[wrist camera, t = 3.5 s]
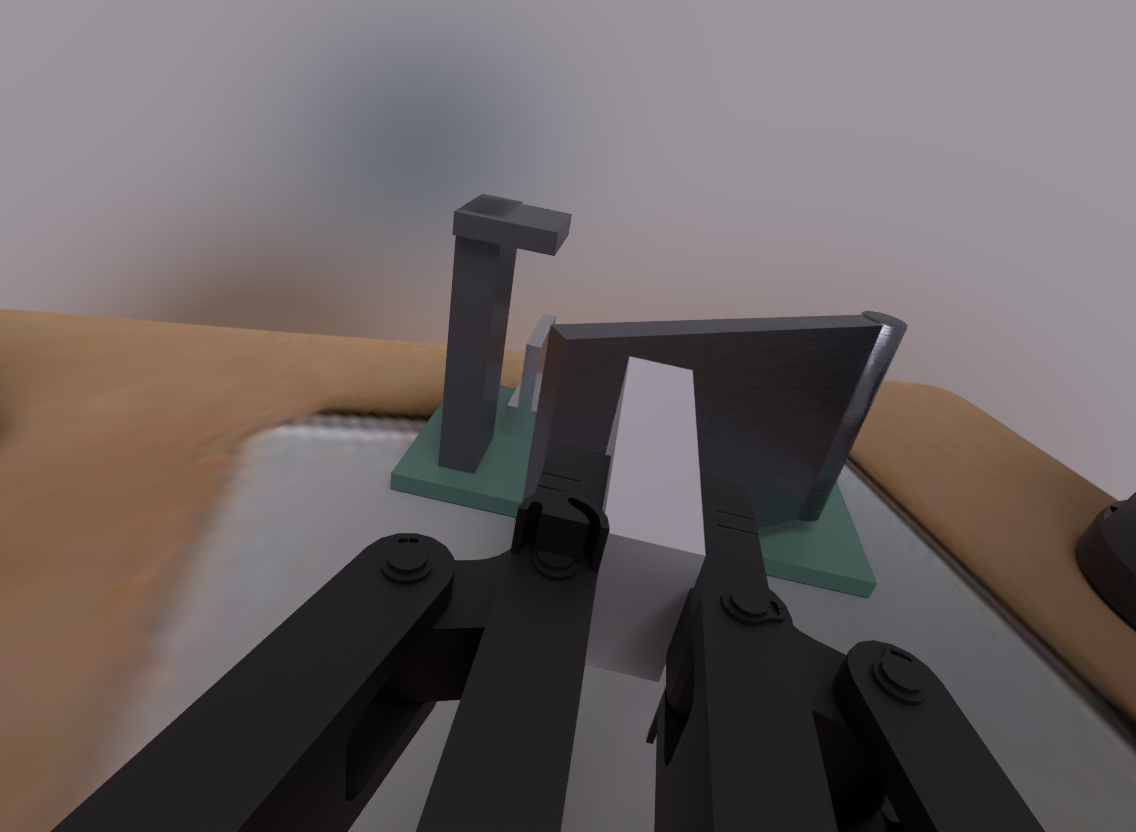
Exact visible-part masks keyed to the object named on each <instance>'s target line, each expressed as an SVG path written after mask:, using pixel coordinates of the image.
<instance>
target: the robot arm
mask: <svg viewBox="0 0 1136 832" xmlns="http://www.w3.org/2000/svg"><path fill="white" fill-rule="evenodd" d="M1077 556H1078V560H1079V563H1080V565H1081V567H1082V569H1083V571H1084V572H1085V574H1086V576H1087V577H1088V579H1089V580H1090V582H1091V583H1092V584H1093V585H1094V587H1095V588H1096V589H1097V590H1098V591H1099V593H1100V594H1101V595H1102V596H1103V597H1104V598H1105V599H1106V600H1107V601H1108V602H1109V603H1110V604H1111V605H1112V606H1113V607H1114V608H1115V609H1116V610H1117V611H1118V612H1119V613H1120V614H1121V615H1122V616H1123V617H1124V618H1125V619H1127V620H1128V621H1129V622H1130V623H1131V624H1132V625H1134V626H1135V627H1136V493H1134V494H1133V495H1132V496H1131V497H1130V498H1129V499H1128V500H1124V501H1119V502H1116V503H1113V504H1112V505H1110V506H1108V507H1107V508H1105V509H1104V510H1103V511H1102V512H1101V513H1099V514H1098V515H1097V517H1096V518H1095V519H1094V521H1093V522H1092V523H1091V525H1090V526H1089V527H1088V529H1087V530H1086V532H1085V533H1084V534H1083V536H1082V537H1081V538H1080V540H1079V541H1078V544H1077ZM585 664H587V665H591V666H595V667H599V668H603V669H607V670H611V671H615V672H619V673H624V674H628V675H632V676H636V677H640V678H644V679H648V680H652V681H656V682H659V680H660V677H661V674H662V672H663V669H664V666H665V664H666V687H665V690H664V692H663V695H662V698H661V700H660V703H659V706H658V708H657V711H656V713H655V716H654V719H653V721H652V724H651V726H650V729H649V733H648V736H647V740H646V742H647V743H651V744H653V742H654V740H655V737H656V734H657V751H656V789H655V827H654V832H1045V831H1044V829H1043V828H1042V827H1041V825H1040V824H1039V822H1038V821H1037V819H1036V818H1035V816H1034V815H1033V814H1032V812H1031V811H1030V809H1029V808H1028V806H1027V805H1026V803H1025V802H1024V800H1023V799H1022V798H1021V796H1020V795H1019V793H1018V792H1017V790H1016V789H1015V787H1014V786H1013V785H1012V783H1011V782H1010V780H1009V779H1008V777H1007V776H1006V774H1005V773H1004V772H1003V770H1002V769H1001V767H1000V766H999V764H998V763H997V761H996V760H995V759H994V757H993V756H992V754H991V753H990V751H989V750H988V748H987V747H986V746H985V744H984V743H983V741H982V740H981V738H980V737H979V735H978V734H977V732H976V731H975V730H974V728H973V727H972V725H971V724H970V722H969V721H968V719H967V718H966V717H965V715H964V714H963V712H962V711H961V709H960V708H959V706H958V705H957V704H956V702H955V701H954V699H953V698H952V696H951V695H950V693H949V692H948V691H947V689H946V688H945V686H944V685H943V683H942V682H941V681H940V680H939V679H938V677H937V676H936V675H935V674H934V673H933V672H932V671H931V670H930V668H929V667H928V666H927V665H925V664H924V663H923V662H921V661H920V660H919V659H917V658H916V657H914V656H913V655H912V654H910V653H909V652H907V651H904V650H902V649H900V648H898V647H896V646H894V645H892V644H888V643H883V642H878V641H874V640H872V641H865V642H859V643H857V644H856V645H855V646H854V647H853V648H851V649H850V650H849V652H848V654H847V655H845V654H843V653H841V652H839V651H837V650H835V649H833V648H831V647H829V646H826V645H824V644H822V643H820V642H818V641H816V640H814V639H812V638H811V637H809V636H807V635H806V634H804V633H802V632H801V631H799V630H798V629H797V628H795V627H794V626H793V622H792V618H791V616H790V614H789V611H788V609H787V607H786V605H785V604H784V603H783V602H782V601H781V599H780V598H779V597H778V596H777V595H776V594H775V593H774V592H773V591H771V590H770V589H769V587H768V582H767V577H766V572H765V566H764V561H763V556H762V551H761V545H760V540H759V538H758V530H757V524H756V523H755V514H754V508H753V503H752V501H751V499H750V498H749V497H748V495H747V494H746V493H745V491H744V490H743V489H742V487H741V486H740V485H739V483H734V482H730V481H726V480H721V479H717V478H713V477H708V476H704V475H700V470H699V456H698V441H697V427H696V413H695V399H694V384H693V370H689V369H684V368H680V367H675V366H671V365H666V364H662V363H657V362H653V361H648V360H644V359H639V358H635V357H630V356H629V360H628V364H627V368H626V372H625V376H624V381H623V385H622V389H621V393H620V397H619V401H618V405H617V409H616V413H615V417H614V421H613V426H612V430H611V434H610V438H609V442H608V446H607V450H606V454H605V455H604V454H600V453H596V452H591V451H587V450H583V449H578V448H574V447H570V446H565V445H561V446H560V447H558V448H557V449H556V450H554V451H553V452H552V453H550V454H549V455H548V456H547V458H546V461H545V464H544V467H543V470H542V473H541V476H540V479H539V482H538V485H537V488H536V491H535V494H533V495H531V496H529V497H527V498H525V499H524V501H523V502H522V503H521V505H520V506H519V507H518V512H517V518H516V524H515V529H514V535H513V541H512V547H511V549H510V550H508V551H506V552H505V553H503V554H501V555H499V556H496V557H492V558H489V559H482V560H454V557H453V556H452V554H451V553H450V551H449V550H448V548H447V547H446V546H445V545H443V544H442V543H440V542H439V541H437V540H436V539H434V538H432V537H428V536H424V535H420V534H417V533H398V534H395V535H391V536H387V537H383V538H380V539H379V540H377V541H376V542H374V543H372V544H371V545H369V546H368V547H366V548H365V549H364V550H363V551H362V552H361V553H360V554H359V555H357V556H356V557H355V558H354V559H353V560H352V561H351V562H350V563H349V564H347V565H346V566H345V567H344V568H343V569H342V570H341V571H340V572H339V573H337V574H336V575H335V576H334V577H333V578H332V579H331V580H330V581H329V582H327V583H326V584H325V585H324V586H323V587H322V588H321V589H320V590H319V591H317V592H316V593H315V594H314V595H313V596H312V597H311V598H310V599H309V600H307V601H306V602H305V603H304V604H303V605H302V606H301V607H300V608H299V609H297V610H296V611H295V612H294V613H293V614H292V615H291V616H290V617H288V618H287V619H286V620H285V621H284V622H283V623H282V624H281V625H280V626H278V627H277V628H276V629H275V630H274V631H273V632H272V633H271V634H270V635H268V636H267V637H266V638H265V639H264V640H263V641H262V642H261V643H260V644H258V645H257V646H256V647H255V648H254V649H253V650H252V651H251V652H250V653H248V654H247V655H246V656H245V657H244V658H243V659H242V660H241V661H240V662H238V663H237V664H236V665H235V666H234V667H233V668H232V669H231V670H230V671H228V672H227V673H226V674H225V675H224V676H223V677H222V678H221V679H220V680H218V681H217V682H216V683H215V684H214V685H213V686H212V687H211V688H210V689H208V690H207V691H206V692H205V693H204V694H203V695H202V696H201V697H200V698H198V699H197V700H196V701H195V702H194V703H193V704H192V705H191V706H190V707H188V708H187V709H186V710H185V711H184V712H183V713H182V714H181V715H180V716H178V717H177V718H176V719H175V720H174V721H173V722H172V723H171V724H170V725H168V726H167V727H166V728H165V729H164V730H163V731H162V732H161V733H160V734H158V735H157V736H156V737H155V738H154V739H153V740H152V741H151V742H150V743H148V744H147V745H146V746H145V747H144V748H143V749H142V750H141V751H139V752H138V753H137V754H136V755H135V756H134V757H133V758H132V759H131V760H129V761H128V762H127V763H126V764H125V765H124V766H123V767H122V768H121V769H119V770H118V771H117V772H116V773H115V774H114V775H113V776H112V777H111V778H109V779H108V780H107V781H106V782H105V783H104V784H103V785H102V786H101V787H99V788H98V789H97V790H96V791H95V792H94V793H93V794H92V795H91V796H89V797H88V798H87V799H86V800H85V801H84V802H83V803H82V804H81V805H79V806H78V807H77V808H76V809H75V810H74V811H73V812H72V813H71V814H69V815H68V816H67V817H66V818H65V819H64V820H63V821H62V822H61V823H59V824H58V825H57V826H56V827H55V828H54V829H53V830H52V831H51V832H348V830H349V829H350V827H351V826H352V825H353V823H354V822H355V820H356V819H357V817H358V816H359V814H360V813H361V812H362V810H363V809H364V807H365V806H366V804H367V803H368V802H369V800H370V799H371V797H372V796H373V794H374V793H375V792H376V790H377V789H378V787H379V786H380V784H381V783H382V781H383V780H384V779H385V777H386V776H387V774H388V773H389V771H390V770H391V769H392V767H393V766H394V764H395V763H396V761H397V760H398V758H399V757H400V756H401V754H402V753H403V751H404V750H405V748H406V747H407V746H408V744H409V743H410V741H411V740H412V738H413V737H414V736H415V734H416V733H417V731H418V730H419V728H420V727H421V725H422V724H423V723H424V721H425V720H426V718H427V717H428V715H429V714H430V713H431V711H432V710H433V708H434V707H435V704H436V702H437V701H449V700H460V703H459V706H458V709H457V712H456V715H455V718H454V721H453V724H452V727H451V729H450V732H449V735H448V738H447V741H446V744H445V747H444V750H443V753H442V756H441V759H440V762H439V765H438V768H437V771H436V774H435V777H434V780H433V783H432V786H431V789H430V792H429V794H428V797H427V800H426V803H425V806H424V809H423V812H422V815H421V818H420V821H419V824H418V827H417V830H416V832H560V830H561V823H562V817H563V810H564V803H565V796H566V789H567V782H568V776H569V769H570V762H571V755H572V748H573V741H574V735H575V728H576V721H577V714H578V707H579V700H580V694H581V687H582V680H583V673H584V666H585Z"/></svg>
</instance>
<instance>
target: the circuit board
mask: <svg viewBox="0 0 1136 832" xmlns="http://www.w3.org/2000/svg"><path fill="white" fill-rule="evenodd" d="M515 389H516V388H511V387H506V386H502V385H500V387H499V395H498V403H497V411H496V419H495V427H494V435H493V438H492V440H491V442H490V444H489V446H488V448H487V450H486V452H485V454H484V456H483V458H482V460H481V462H480V464H479V466H478V468H477V470H476V472H475V474H471V473H467V472H462V471H458V470H453V469H449V468H445V467H440V466H438V463H439V449H440V436H441V423H442V410H443V401H442V403H441V404H440V405H439V407H438V408H437V410H436V411H435V412H434V414H433V415H432V417H431V418H430V419H429V421H428V422H427V424H426V425H425V427H424V428H423V429H422V431H421V432H420V434H419V435H418V436H417V438H416V439H415V441H414V442H413V443H412V445H411V446H410V448H409V449H408V450H407V452H406V453H405V455H404V456H403V457H402V459H401V460H400V462H399V463H398V464H397V466H396V467H395V469H394V470H393V472H392V473H391V489H394V490H398V491H402V492H407V493H411V494H416V495H420V496H424V497H429V498H433V499H437V500H442V501H446V502H451V503H455V504H459V505H464V506H468V507H472V508H477V509H481V510H486V511H490V512H494V513H499V514H503V515H507V516H512V517H516V518H517V512H518V507H519V506H520V505H521V503H522V499H523V493H524V487H525V481H526V475H527V468H528V462H529V456H530V450H531V444H532V441H531V440H527V439H522V438H518V437H513V436H509V435H504V427H505V420H506V412H507V405H508V403H509V401H510V399H511V397H512V395H513V393H514V391H515ZM757 530H758V538H759V540H760V545H761V551H762V556H763V561H764V566H765V572H766V575H770V576H774V577H779V578H783V579H788V580H792V581H796V582H801V583H805V584H809V585H814V586H818V587H823V588H827V589H831V590H836V591H840V592H844V593H849V594H853V595H858V596H862V597H866V598H869V596H870V595H871V593H872V591H873V589H874V587H875V586H876V584H877V583H876V581H875V578H874V576H873V573H872V571H871V568H870V566H869V563H868V560H867V558H866V555H865V553H864V550H863V548H862V545H861V543H860V540H859V538H858V535H857V533H856V530H855V528H854V525H853V522H852V520H851V517H850V515H849V512H848V510H847V507H846V505H845V502H844V500H843V497H842V495H841V492H840V490H839V487H838V484H837V482H836V483H835V486H834V488H833V490H832V492H831V494H830V496H829V499H828V501H827V503H826V505H825V507H824V509H823V512H822V514H821V516H820V518H819V520H817V521H815V522H806V521H802V520H799V519H798V520H793V521H789V522H785V523H781V524H776V525H772V526H768V527H764V528H759V529H757Z"/></svg>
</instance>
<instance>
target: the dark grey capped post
mask: <svg viewBox="0 0 1136 832" xmlns="http://www.w3.org/2000/svg"><path fill="white" fill-rule="evenodd" d="M522 203H523V202H521V201H516V200H510V199H505V198H500V197H496V196H491V195H486V194H481V195H480V196H478V197H477V198H475V199H473V200H472V201H470V202H468V203H467V204H465V205H464V206H462V207H461V208H459V209H457V210H456V211H454V223H453V235H456V240H455V253H454V267H453V279H452V293H451V306H450V319H449V332H448V345H447V358H446V371H445V384H444V397H443V410H442V423H441V436H440V449H439V463H438V466H440V467H445V468H449V469H453V470H458V471H462V472H467V473H471V474H475V472H476V470H477V468H478V466H479V464H480V462H481V460H482V458H483V456H484V454H485V452H486V450H487V448H488V446H489V444H490V442H491V440H492V438H493V435H494V427H495V419H496V411H497V403H498V395H499V387H500V379H501V371H502V363H503V355H504V347H505V338H506V331H507V323H508V315H509V307H510V299H511V291H512V283H513V275H514V267H515V259H516V251H517V248H518V249H523V250H528V251H533V252H538V253H543V254H548V255H552V256H555V254H556V253H557V251H558V250H559V248H560V247H561V245H562V244H563V242H564V241H565V239H566V238H567V236H568V234H569V228H570V222H571V215H572V214H568V213H563V212H559V211H553V210H549V209H544V208H539V207H534V206H528V205H524V204H522Z"/></svg>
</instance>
